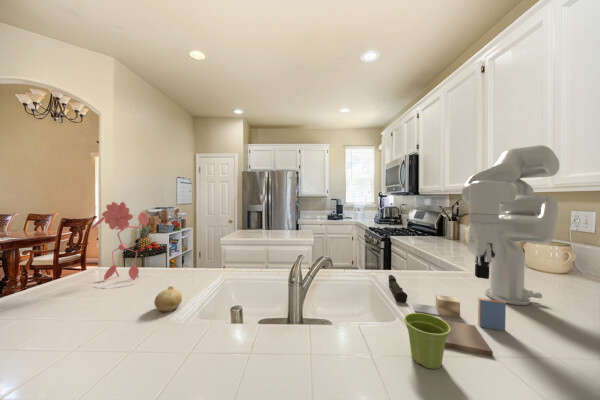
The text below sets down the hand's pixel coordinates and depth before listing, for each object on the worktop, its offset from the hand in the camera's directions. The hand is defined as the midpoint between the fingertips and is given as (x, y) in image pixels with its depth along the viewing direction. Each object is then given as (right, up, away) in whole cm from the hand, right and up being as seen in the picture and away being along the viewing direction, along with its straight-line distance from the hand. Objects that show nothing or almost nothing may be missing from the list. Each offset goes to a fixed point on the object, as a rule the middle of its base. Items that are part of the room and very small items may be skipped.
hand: (481, 277), depth 73 cm
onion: (-102, -12, +4) cm, 102 cm away
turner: (-13, -12, +3) cm, 18 cm away
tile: (-2, -13, -6) cm, 14 cm away
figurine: (-138, -11, +27) cm, 141 cm away
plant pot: (-29, -13, -20) cm, 37 cm away
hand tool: (-20, -13, +19) cm, 30 cm away
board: (-16, -13, -10) cm, 23 cm away
